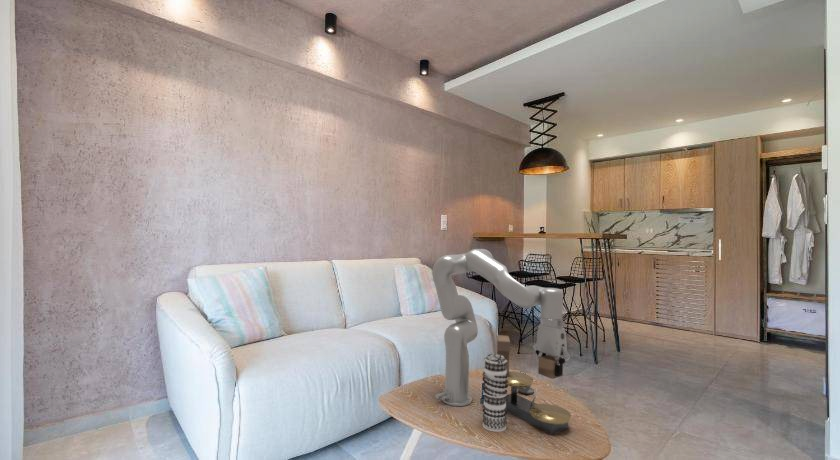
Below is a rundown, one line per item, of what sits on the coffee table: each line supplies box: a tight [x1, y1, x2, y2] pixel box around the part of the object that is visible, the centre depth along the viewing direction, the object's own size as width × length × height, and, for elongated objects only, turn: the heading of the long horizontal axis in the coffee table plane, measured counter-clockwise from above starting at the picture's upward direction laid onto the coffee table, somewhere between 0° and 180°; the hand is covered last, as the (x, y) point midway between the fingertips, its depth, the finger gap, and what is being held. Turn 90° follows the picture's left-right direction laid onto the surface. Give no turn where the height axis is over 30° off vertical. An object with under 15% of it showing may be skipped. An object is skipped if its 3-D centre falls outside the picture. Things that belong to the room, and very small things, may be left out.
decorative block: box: [496, 334, 511, 372], centre depth 181 cm, size 11×6×20 cm, turn 170°
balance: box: [506, 370, 572, 436], centre depth 145 cm, size 14×31×12 cm, turn 34°
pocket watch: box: [517, 370, 535, 395], centre depth 168 cm, size 8×8×10 cm
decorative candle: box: [481, 353, 509, 433], centre depth 137 cm, size 9×9×25 cm
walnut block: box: [537, 354, 564, 380], centre depth 138 cm, size 6×6×6 cm
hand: (550, 372), depth 138 cm, fingers closed on walnut block, 6 cm apart
